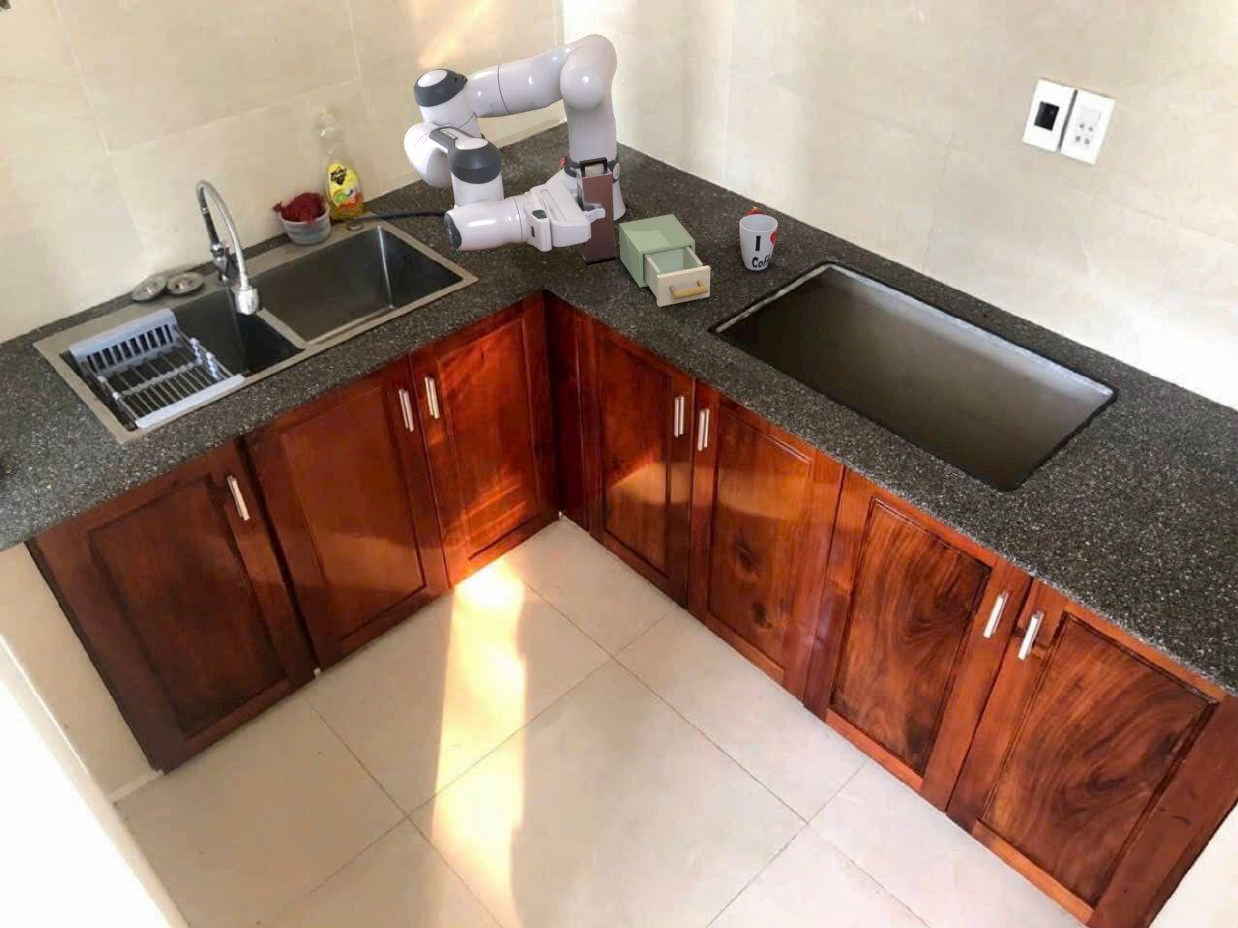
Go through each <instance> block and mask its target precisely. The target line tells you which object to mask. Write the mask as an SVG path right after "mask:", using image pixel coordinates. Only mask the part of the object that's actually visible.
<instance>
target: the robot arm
mask: <svg viewBox="0 0 1238 928" xmlns="http://www.w3.org/2000/svg"><path fill="white" fill-rule="evenodd" d="M617 68H618V57H617V52H616V49H615V46H614V44H613V43H612V42H611V40H610V39H609V38H608V37H606V36H604V35H601V34H599V33H598V34H597V33H593V34H588V35H585V36H583V37H581V38H579V39H577V40H574V41H573V40H572V41H571V42H568V43H564V44H562V45H560V46H559V45H558V46H557V47H554V48H552V49H549V50H547V51H544V52H542V53H538V54H536V55H534V56H529V57H525V58H520V59H517V60H516V59H515V60H512V61H508V62H504V63H499V64H495V65H492V66H491V65H490V66H489V67H486V68H483V69H480V70H478V71H475V72H473V73H471V74H469V75H467V76H466V75H464V74H462V73H457V72H456V71H454V70H452V69H448V68H435V69H431V70H429V71H427V72H425V73H423V74H422V75H420V76H419V77H418V78H417V79H416V81H415V83H414V85H413V95H414V99H415V102H416V105H417V106H418V107H419V111H420V114H421V117H422V120H423V121H421V122H417V123H414V124H413V125H412V126H410V127H409V129H408V130H407V132H406V133H405V135H404V139H403V148H404V152H405V155H406V157H407V160H408V162H409V164H410V166H411V167H412V169H413V170H414V171H415V172H416V174H417V175H418V176H419V178H420V179H421V180H422V181H423V182H425V184H427V185H429V186H430V187H433V188H436V189H448V188H452V190H453V191H452V192H453V198H454V206H453V208H452V209H449V210H446V209H443V210H440V209H439V210H438V209H431V210H430V209H428V210H427V209H426V210H408V211H399V212H390V213H383V214H376V215H370V216H360V217H361V218H357V219H354V220H353V219H350V220H351V221H356V222H357V221H359V222H360V221H371V220H377V219H383V218H384V219H385V218H390V217H391V218H392V217H400V216H411V215H429V214H430V215H432V214H433V215H434V214H437V215H438V214H439V215H441V214H442V215H443V214H444V216H443V225H444V229H445V233H446V236H447V239H448V241H449V243H450V245H451V246H452V247H453V249H455V250H456V251H465V252H469V251H471V252H472V251H481V250H482V251H483V250H490V249H497V248H500V247H502V246H504V245H507V244H524V243H527V244H528V245H531V246H533V247H535V248H536V249H538V250H539V251H541V252H550V251H552V249H553V247H555V248H565V247H570V246H575V245H580V243H584V242H586V241H588V240H589V239H590V238H591V225H590V223H592V222H593V221H595V220H596V219H600V218H604V217H605V209H604V208H603V207H602V206H599V207H594V210H592V211H589V212H588V211H582V210H581V208H580V207H579V205H578V200H577V183H576V169H579V168H580V164H579V161H583V160H589V159H596V158H602V157H606V158H607V167H608V168H609V170H610V171H611V172H612V179H613V208H614V221H617V220H619V219H620V218H621V217H623V216H624V214H625V213H626V211H627V210H626V209H627V208H626V205H625V202H624V200H623V196H622V191H621V185H620V172H621V171H620V167H621V165H620V156H619V152H618V144H617V141H618V140H617V120H616V118H615V113H614V106H613V96H612V95H613V94H612V90H613V89H612V87H613V81H614V77H615V74H616V71H617ZM559 101H562V104H563V108H564V112H565V116H566V123H567V132H568V151H567V153H565V154H564V155H563V158H562V159H561V160H560V161H559V162H560V166H563V168H562V169H560V170H559V171H557V172H556V173H554V174H553V176H551V177H550V178H549V179H548V180H547V181H546V183H543V184H539V185H535V186H534V187H531V188H530V189H529V191H525V192H524V193H523V194H518V195H513V196H508V197H506V198H505V194H504V185H503V184H504V183H503V175H502V153H501V150H500V148H498V147H497V146H496V144H494V143H493V142H492V141H490V140H488V139H486V138H485V139H484V137H483V135H484V134H483V133H482V132H481V128H480V125H479V121H478V119H479V118H480V119H481V118H482V119H490V118H492V119H493V118H503V117H509V116H514V115H518V114H524V113H528V112H532V111H537V110H542V109H546V108H548V107H550V106H551V105H553V104H556V103H558V102H559ZM481 133H482V134H483V135H482V134H481ZM597 165H602V164H596V165H590V166H585V167H591V166H597Z"/></svg>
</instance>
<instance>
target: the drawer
mask: <svg viewBox="0 0 1238 928" xmlns="http://www.w3.org/2000/svg"><path fill="white" fill-rule="evenodd" d="M643 279H644V280H645V281H646V283H647V284H648V286H647V287H649V289H650V290H651V292H652V293H653V295H654V296H655V297H656V305H657V307H658V308H660V307H665V306H670V305H674V304H679V303H680V304H681V303H685V302H691V301H694V300H699V299H704V298H708V297H709V298H710V296H711V295H710V293H711V266H709V265H704V263H703V262H702V261H701V260H700V258H699V257H698V255H697V254H696V252H695V253H694V252H693V251H692V250H691V248H690V247H689V246H684V247H679V248H674V249H669V250H663V251H658V252H653V253H648V254H643Z"/></svg>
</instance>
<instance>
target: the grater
mask: <svg viewBox="0 0 1238 928" xmlns="http://www.w3.org/2000/svg"><path fill="white" fill-rule="evenodd" d="M579 164H580V168H579V169H576V183H577V200H578V205H579V207H580V208H581V210H582V211H588V212H589V211H592V210H594V207H599V206H602V207H603V208H604V209H605V217H604V218H600V219H596V220H595V221H593V222H592V223H590V225H591V238H590V239H589V240H588V241H586V242H584V243H580V244H579V247H580V248H579V249H580V251H578V252H579V254H578V255H579V256H580V258H581V260H582V261H583V263H584V265H585V266H586V267H588V266H592V265H598V264H604V263H607V262H608V263H609V262H614V261H617V260H618V259H617V255H616V243H615V242H616V239H615V220H614V208H613V179H612V172H611V171H610V170H609V168H608V167H607V158H606V157H602V158H596V159H589V160H583V161H579ZM596 164H602V165H597V166H591V167H585V166H590V165H596Z"/></svg>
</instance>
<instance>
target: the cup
mask: <svg viewBox="0 0 1238 928" xmlns="http://www.w3.org/2000/svg"><path fill="white" fill-rule="evenodd" d="M777 231H778V221H777V219H776V218H775V217H772V216H771V215H767V214H765V215H759V214H756V215H749V216H746V217H745V216H743V217H742V218H741V219H740V220H739V245H740V253H741V258H742V261H743V265H744V266H745V268H747V269H748V270H752V271H762V270H764V269H766V268H767V267H768V265H769V264H770V261H771V258H772V255H773V253H774V247H775V243H776V239H777Z"/></svg>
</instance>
